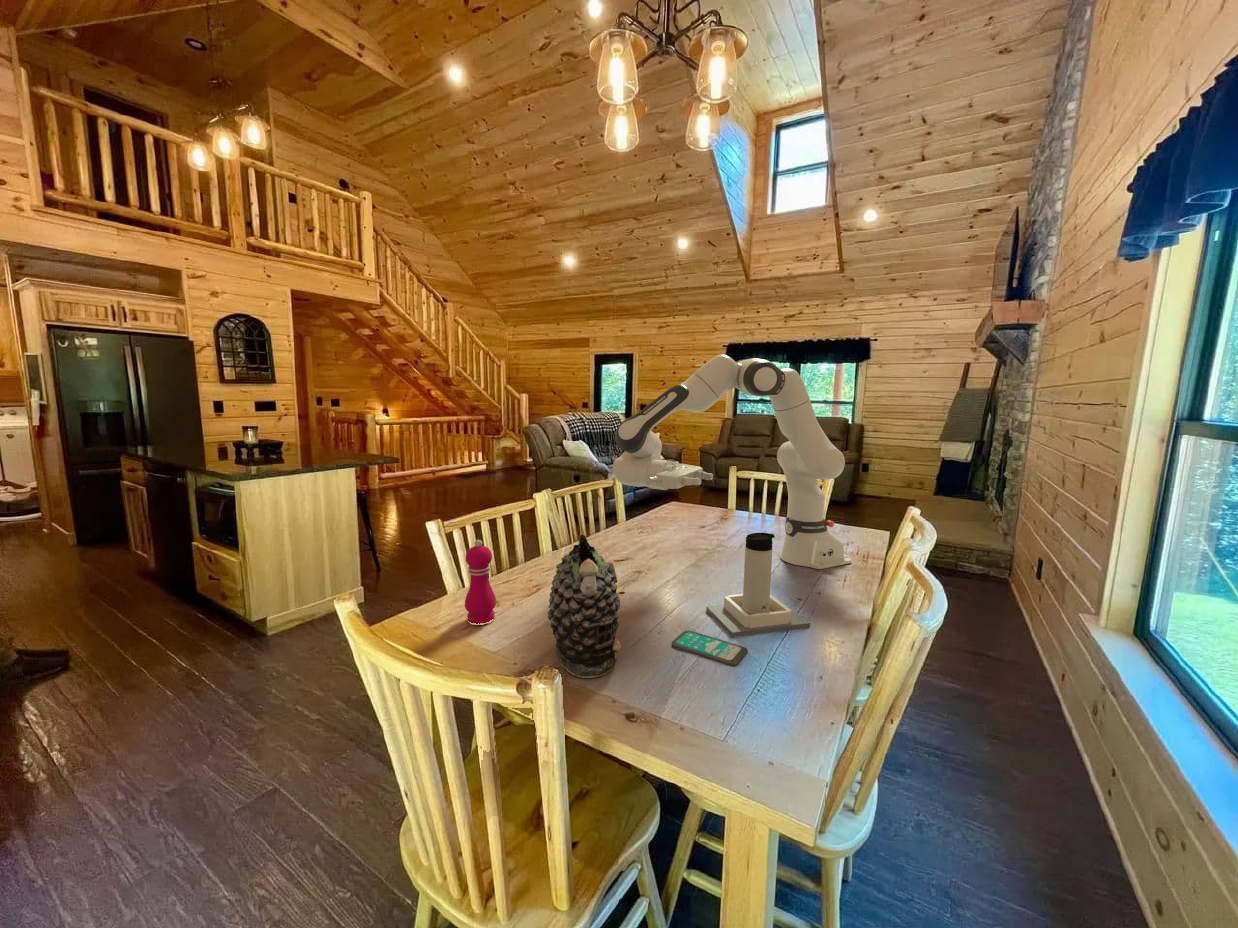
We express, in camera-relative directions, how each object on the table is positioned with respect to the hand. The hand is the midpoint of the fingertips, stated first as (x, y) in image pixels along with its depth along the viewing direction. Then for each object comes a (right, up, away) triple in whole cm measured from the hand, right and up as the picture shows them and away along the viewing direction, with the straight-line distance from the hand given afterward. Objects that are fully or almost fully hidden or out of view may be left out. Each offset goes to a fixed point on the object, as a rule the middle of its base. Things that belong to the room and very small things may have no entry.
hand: (706, 479), depth 141 cm
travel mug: (+9, -32, -20) cm, 39 cm away
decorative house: (-32, -36, -37) cm, 61 cm away
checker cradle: (+9, -33, -20) cm, 40 cm away
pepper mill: (-58, -33, -22) cm, 70 cm away
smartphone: (-5, -36, -34) cm, 50 cm away
